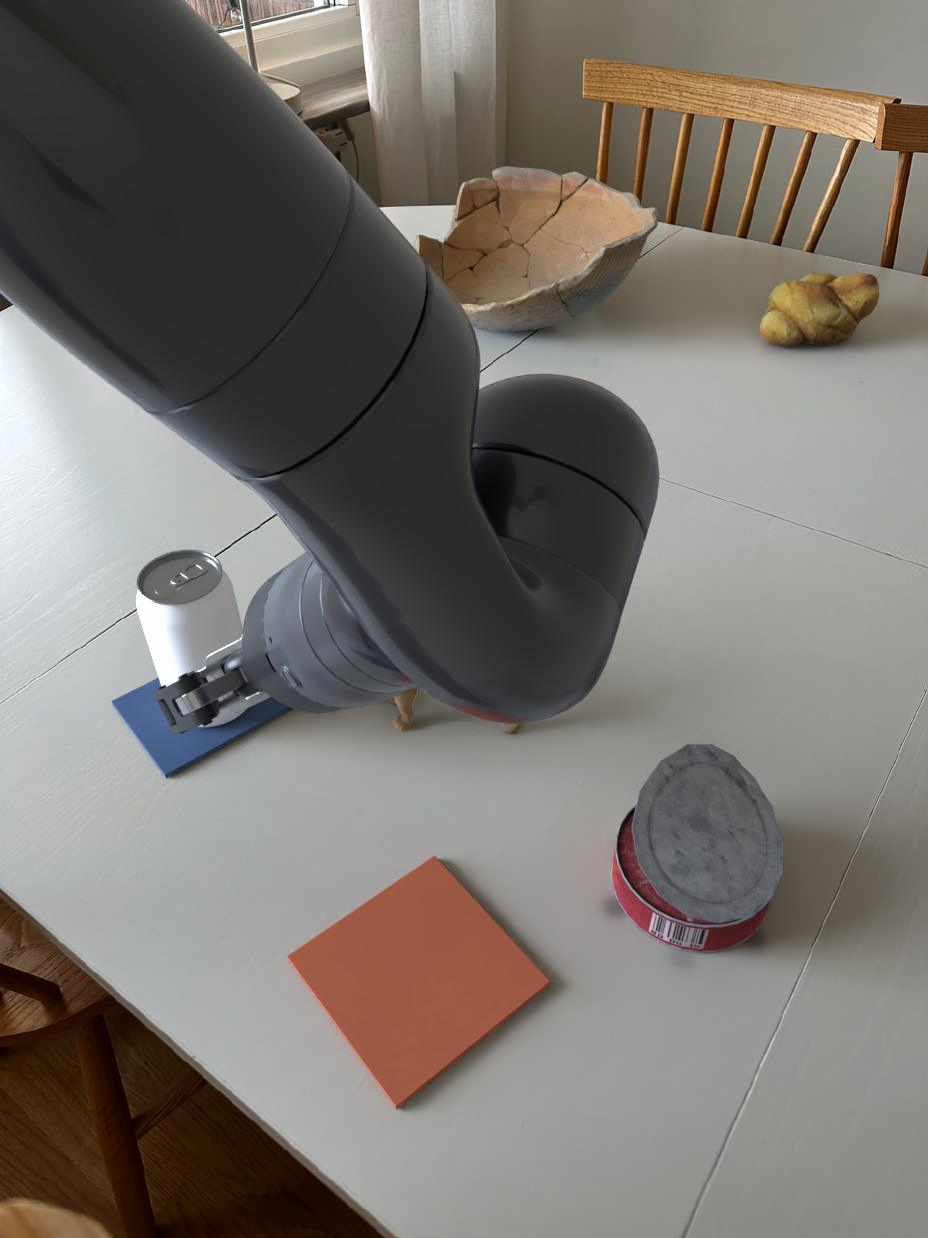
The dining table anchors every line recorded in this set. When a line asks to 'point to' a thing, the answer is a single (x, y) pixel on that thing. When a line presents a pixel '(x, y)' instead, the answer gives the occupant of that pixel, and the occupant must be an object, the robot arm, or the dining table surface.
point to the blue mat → (193, 743)
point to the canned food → (698, 852)
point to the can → (187, 615)
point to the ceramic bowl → (537, 246)
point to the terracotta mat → (417, 978)
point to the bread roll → (818, 309)
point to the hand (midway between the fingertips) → (257, 664)
